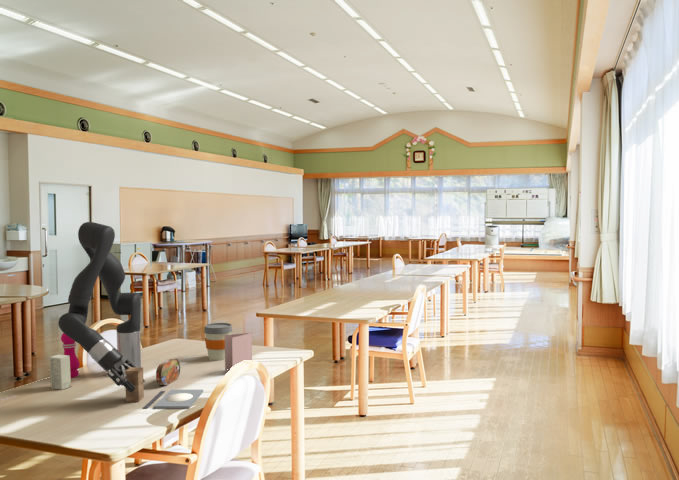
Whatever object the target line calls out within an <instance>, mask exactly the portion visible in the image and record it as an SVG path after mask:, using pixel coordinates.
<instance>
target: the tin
mask: <svg viewBox="0 0 679 480" xmlns="http://www.w3.org/2000/svg"><path fill="white" fill-rule="evenodd" d="M180 374H181V364H180V361H179V359H178V358H170V359H167V360H165V361H164V362H162V363H159V365H157V368H156V371H155V376H156V378H155V379H156V382H157V384H158V386H159V385H160V386H168V385H170V384H171V383H173V382H175V381H176V380H178V378H179V376H180Z"/></svg>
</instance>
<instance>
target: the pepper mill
mask: <svg viewBox="0 0 679 480" xmlns="http://www.w3.org/2000/svg"><path fill="white" fill-rule="evenodd" d="M60 340H61V342H62V348H63V355H69V356H70V374H71V379H73V378H76V377H78V376H79V374H80V373H79V370H78V369H79V368H80V360H79V358H78V356H77V355H76V349H75V348H76V347H77V342H76V341H74V340H72V339H71V338H70V337H68V336H67V335H66V334H64V333H63V332H62V334H61V336H60Z"/></svg>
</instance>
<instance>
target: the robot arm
mask: <svg viewBox="0 0 679 480" xmlns="http://www.w3.org/2000/svg"><path fill="white" fill-rule="evenodd" d="M77 237H78V242H79V244H80V245H81V247H82V249H83V250H84V252H85V253H86V254H87V256H88V258H89V259H90V261H89V263H88V264H87V265H86V266H85V267H84V268H83V269H82V270H81V271H80V272H79V273H78V274H77V275H76V277H75V278H74V280H73V281H72V284H71V288H70V291H69V294H68V299H67V303H68V304H69V308H68V312H66V313H64V314H62V315H61V316H60V317H59V318H58V321H57V322H58V323H57V324H58V325H57V326H58V327H59V329H60V331H61V332H62V334H63V333H64V334H66V335H67V336H68V337H70V338H71V339H72V340H74V341H75V343H76V344H78V345H80V347H81V348H82V349H83V350H85V352H87V353H88V355H89V356H90V357H91V359H93V361H95V362H96V363H97V365H99V366H100V367H101V368H102V370H104V371H105V372H107V373H106V374H107V377H108V378H110V379H111V380H112V382H114V383H115V384H116V386H118V387H120V386H122V387H124V388H125V390H126V389H127V390H128V391H129V392H133V391H134V390H135V386H134V385H133V384H132V383H131V382H129V381H128V380H127V377H126V376H127V374H126V372H125V371H126V370H127V369H129V368H130V367H142V354H141V353H142V348H141V345H142V344H141V314H142V313H141V311H142V310H141V309H142V307H141V305H142V301H141V295H140V293H138V292H120V291H119V290H120V288H121V287H122V285H123V283H125V282H124V281H125V279H126V272H125V269H124V268H123V265H122V263H121V261H120V260H119V259H118V258H117V256H115V255H114V254H113V253H112V252H111V250H112V247H113V245H114V242H115V237H116V233H115V229H114V228H113V227H112V226H109V225H105V224H103V223H102V224H101V223H98V222H93V221H86V222H84V223H82V224H81V225H80V226H79V228H78V231H77ZM98 278H99V280H100V283H101V284H102V286H103V287H104V290H105V292H106V294H107V298H108V300H109V304H110V308H111V310H112V312H113V313H114V314H115V315H118V316H130V317H129V319H128V320H126V321H123V322H121V323H118V324H117V325H116V348H115V346H114V345H113V344H112V343H111V342H109V341H108V340H107V339H106V338H104V336H102V335H101V334H100V333H99V332H98V331H97V330H96V329H94V328H91V327H88V325H87V324H86V322H87V320H88V314H89V303H90V301H91V299H92V295H93V290H94V288H95V284H96V281H97V279H98ZM145 382H146V381H145V379H144V378H143V384H144V383H145Z"/></svg>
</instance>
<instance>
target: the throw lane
mask: <svg viewBox="0 0 679 480" xmlns="http://www.w3.org/2000/svg"><path fill="white" fill-rule="evenodd" d="M165 392H166V391H165V390H160V391H159V392H158V393H157V394H156V395H155V396H154V397H152V399H151V400H149V401H148V402H147V403H146V404H145V405H144V406H143V407H142V410H143V409H144V410H145V409H149V407H151V406H152V405H153V404H155V402H156V401H157V400H158V399H159V398H160V397H161V396H163V394H165ZM203 393H204V389H170V390H169V391H168V392H167V393H166V394H165V395H164V396H163V397H162V398H160V400H158V401H157V402H156V404H155V405H154V406H153V409H160V410H161V409H162V410H163V409H164V410H165V409H166V410H167V409H168V410H169V409H172V410H173V409H176V410H177V409H182V410H184V409H185V410H186V409H189V410H190V408H192V406H193V404H195V402H196V401H197V400H198V399H199V398H200V396H201V395H202V394H203Z"/></svg>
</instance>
